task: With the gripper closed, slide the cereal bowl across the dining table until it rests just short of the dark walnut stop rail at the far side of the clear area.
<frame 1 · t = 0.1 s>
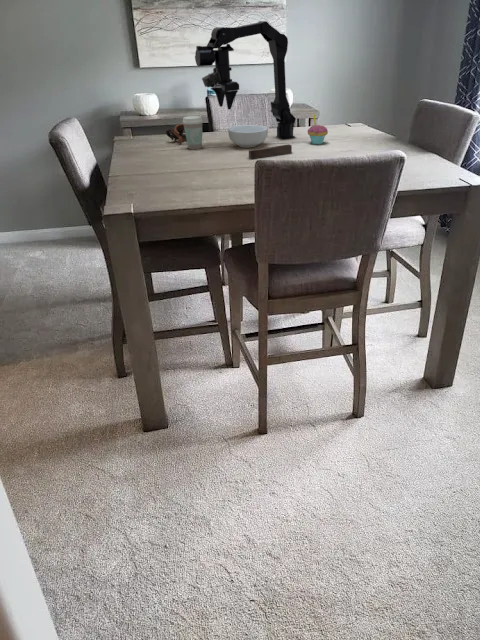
hand: (225, 107, 205), 15 cm above the table, tool pointing down, fingers open, 9 cm apart
cereal bowl: (248, 146, 212), on the table
coffee cup: (195, 148, 211), on the table
cupcake: (317, 143, 212), on the table
brown irregular piece: (180, 142, 222), on the table
stop rail: (270, 155, 196), on the table
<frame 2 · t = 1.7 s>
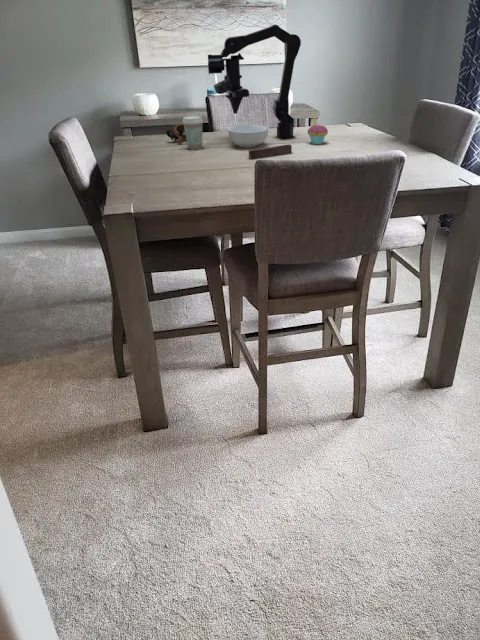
hand: (235, 113, 215), 11 cm above the table, tool pointing down, fingers closed
nothing on the table moved.
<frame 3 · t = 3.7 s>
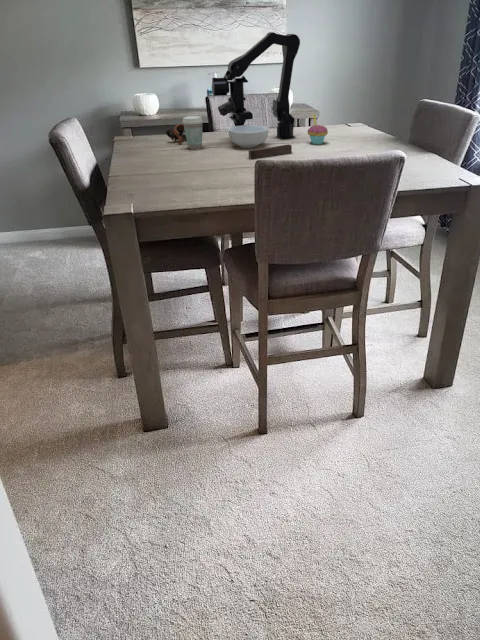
hand: (238, 134, 217), 3 cm above the table, tool pointing down, fingers closed
cereal bowl: (249, 146, 211), on the table, touching gripper
everything else where it was.
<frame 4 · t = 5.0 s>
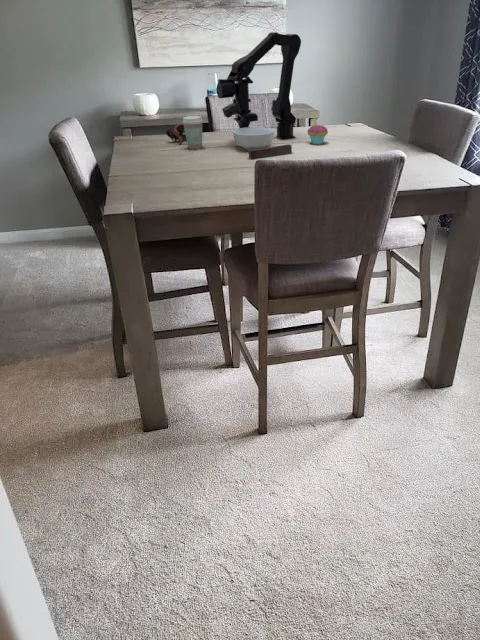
hand: (243, 136, 213), 3 cm above the table, tool pointing down, fingers closed
cereal bowl: (254, 148, 207), on the table, touching gripper
everything else where it was.
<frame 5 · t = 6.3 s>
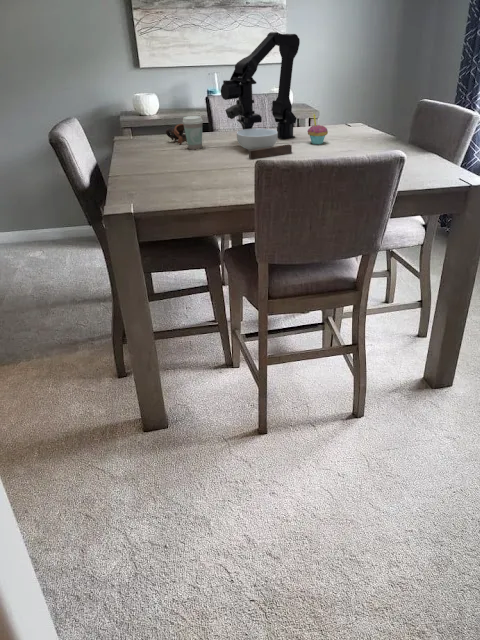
hand: (246, 137, 211), 3 cm above the table, tool pointing down, fingers closed
cereal bowl: (257, 150, 205), on the table, touching gripper
everything else where it was.
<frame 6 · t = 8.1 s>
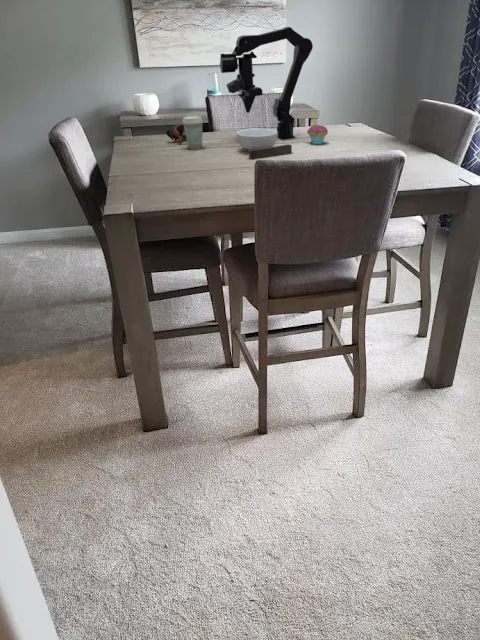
hand: (248, 112, 214), 11 cm above the table, tool pointing down, fingers closed
cereal bowl: (257, 150, 205), on the table
everything else where it was.
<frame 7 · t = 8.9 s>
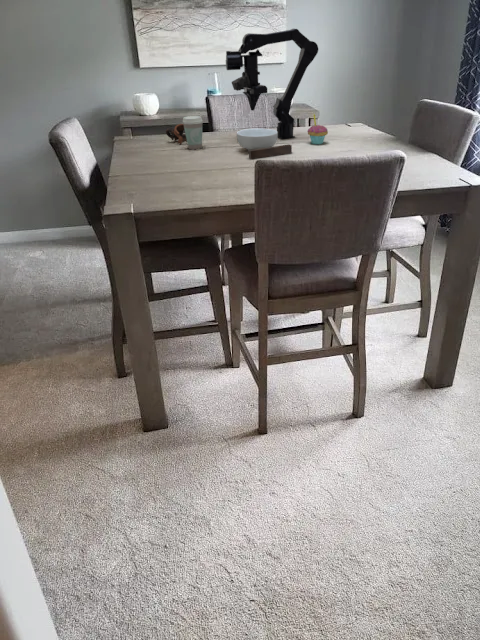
hand: (252, 110, 215), 12 cm above the table, tool pointing down, fingers closed
nothing on the table moved.
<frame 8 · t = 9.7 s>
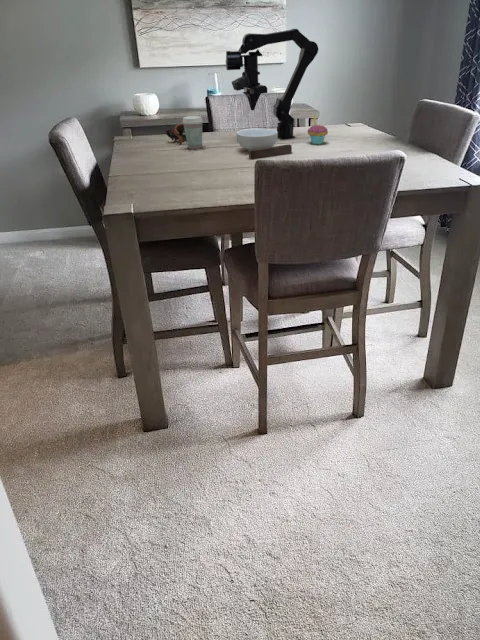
hand: (252, 110, 215), 12 cm above the table, tool pointing down, fingers closed
nothing on the table moved.
at the end: cereal bowl inside the target area (0.3 cm from its centre), on the table; cereal bowl moved 9.3 cm from its start; cereal bowl tilted 0° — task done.
